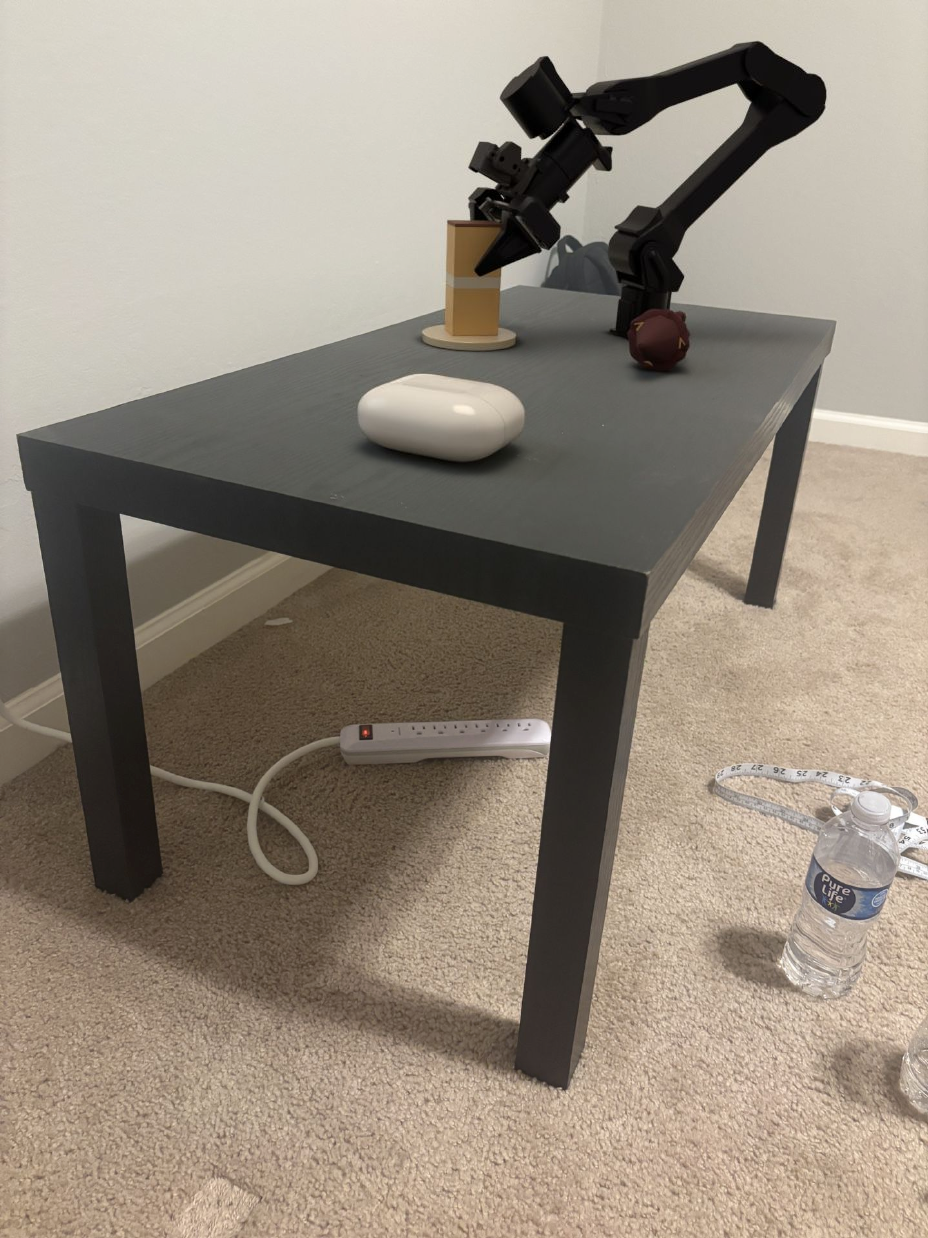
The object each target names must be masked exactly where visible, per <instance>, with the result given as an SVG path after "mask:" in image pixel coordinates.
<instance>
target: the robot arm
mask: <svg viewBox="0 0 928 1238" xmlns="http://www.w3.org/2000/svg"><path fill="white" fill-rule="evenodd" d="M733 85H737V86H738V88H739V90H740V91H741V93H742V95H743V97H744V98H745V99H746V100H747V101H748V102H750V104H749V106H748V109H747V111H746V114H745V116H744V119H743V121H742V123H741V125H740V126H739V127H738V128H737V129H736V130H735V131H734V132H733V133H732V134H731V135H730V136H729V137H728V138H727V139H726V140H724V141H723V143H721V145H719V146H718V148H716V149H715V150H714V151H713V152H712V153H711V154H710V156H708V158H707V159H706V160H704V161H703V163H701V165H699V166H698V167H697V168H696V169H695V170H694V171H693V172H692V173H691V174H690V175H689V176H688V177H687V179H685V180H684V181H683V182H681V184H680V185H679V186H678V187H677V188H676V189H675V190H674V191H673V192H672V193H671V194H670V195H669V196H668V197H667V198H666V199H665V200H664V201H663V202H662V203H660V205H658V206H656V207H652V206H645V205H641V204H638V205H636V206H635V207H634V208H632V210H631V211H630V213H629V214H628V216H627V217H626V218H625V219H624V220H623V221H621V222H620V223H618V224H616V225H614V229H615V230H616V231H615V232H614V233H613V234H612V235H611V237H610V238H609V240H608V249H607V256H608V261H609V264H610V265H611V266H612V268H613V269H614V271H615V276H616V280H617V283H618V284H623V285H624V286H621V291H620V298H618V301H617V312H616V320H615V327H610V328H609V330H608V333H611V334H616V335H619V336H622V337H626V338H628V335H627V334H628V331H629V330H630V323H631V321H632V320H634V319H635V318H637V317H639V316H641V315H642V314H643V313H645V312H646V311H648V310H650V309H662V310H665V309H669V310H671V302H672V296H673V295H672V294H673V293H678V292H679V291H680V288H681V286H682V284H683V281H684V278H685V274H684V273H683V272H682V269H680V267H679V266H678V265H677V263H676V262H675V260H674V259H673V258H675V256H676V254H678V252H679V250H680V247H681V245H682V242H683V239H684V237H685V234H686V233H687V231H688V230H689V228H691V227H692V225H693V224H695V222H697V221H698V220H699V218H701V216H702V215H704V214H705V213H706V212H707V211H708V210H709V209H710V208H711V207H712V206H713V205H714V204H715V203H716V202H717V201H718V200H719V199H720V198H721V197H722V196H723V195H724V194H725V193H726V192H727V191H728V190H729V189H730V188H731V187H732V186H733V185H734V184H735V183H736V182H737V181H738V180H739V179H740V178H741V177H742V176H744V174H746V173H747V171H749V169H751V168H752V167H753V166H754V165H755V164H756V163H757V162H758V161H759V160H760V159H761V158H762V157H763V156H764V155H765V154H766V153H767V152H768V151H769V150H771V149H772V148H774V147H777V146H778V145H780V144H782V143H784V142H786V141H788V140H791V139H793V138H794V137H796V136H798V135H799V134H801V133H802V132H804V131H805V130H806V129H808V128H809V127H810V126H812V125H813V124H815V123H816V122H817V121H818V120H820V118H821V117H822V115H823V114H824V113H825V110H826V102H827V87H826V83H825V81H824V80H823V79H822V77H821V76H819V75H818V74H817V73H812V72H811V73H810V72H809V73H808V72H807V71H806V70H804V69H803V68H802V67H800V66H799V65H797V64H795V63H794V62H792V61H790V60H788V59H786V58H785V57H783V56H781V55H779V54H777V53H776V52H774V50H772V49H771V48H770V47H769V46H768V45H767V44H765V43H764V42H762V41H759V40H754V41H746V42H739V43H738V42H737V43H734V44H733V45H732V46H731V47H729V48H727V49H724V50H721V51H719V52H716V53H712V54H710V55H707V56H703V57H701V58H698V59H695V60H692V61H689V62H686V63H683V64H681V65H677V66H675V67H672V68H669V69H666V70H663V71H660V72H658V73H655V74H652V75H647V76H637V77H629V78H621V79H612V80H603V81H602V80H601V81H598V82H597V81H596V82H595V83H593V84H591V85H590V86H588V87H587V89H586V90H585V91H583V92H582V91H581V92H571V90H570V89H569V87H568V86H567V85H566V83H565V81H564V80H563V79H562V78H561V76H560V74H559V73H558V71H557V69H556V67H555V64H554V63H553V61H552V60H551V57H549V56H548V55H544V56H543V55H542V56H539V57H538V58H537V59H536V61H534V63H532V64H531V65H529V66H528V67H526V68H525V69H524V70H523V71H521V73H520V74H518V75H516V76H514V77H512V79H511V80H510V81H509V82H508V83H507V85H506V86H505V87H504V88H503V90H502V91H501V93H500V95H499V100H500V101H501V103H502V104H503V106H504V107H505V109H507V111H508V113H510V115H511V116H512V118H513V120H514V121H516V123H517V124H518V126H519V127H520V128H521V129H522V131H523V132H524V133H525V136H527V137H528V139H530V140H533V139H536V138H539V139H540V140H541V141H545V140H547V139H549V140H547V142H546V143H545V144H544V145H543V146H542V147H541V148H540V149H539V151H538V152H536V154H534V156H533V157H523V158H522V150H523V149H522V146H520V145H518V144H517V143H515V142H514V141H510V140H506V141H505V142H503V144H501V145H500V146H498V144H497V143H492V142H490V141H478V143H477V146H476V147H475V150H474V152H473V154H472V157H471V160H470V162H469V164H468V167H467V168H468V170H470V171H471V172H473V173H475V174H478V173H479V174H480V175H481V176H484V177H485V178H487V179H489V180H491V181H492V182H494V183H496V185H495V186H494V187H493V188H492V187H487V186H485V187H483V186H482V187H481V186H477V187H476V188H475V189H474V191H473V192H472V193H471V194H470V195H469V196H468V198H467V199H468V204H467V207H468V209H469V220H479V221H496V222H499V223H501V230H500V232H499V234H498V235H497V236H496V238H495V239H494V241H493V242H492V243H491V245H490V246H489V248H488V249H487V251H486V252H485V253H484V255H483V256H482V258H481V259H480V261H479V262H478V264H477V265H476V267H475V268H474V272H475V273H476V274H477V275H478V276H479V277H481V276H484V275H486V274H488V273H490V272H493V271H495V270H497V269H500V268H501V269H503V268H504V267H506V266H508V265H511V264H513V263H516V262H519V261H522V260H523V259H526V258H529V257H531V256H534V255H536V254H538V255H539V254H541V253H542V252H543V250H546V251H550V250H551V249H552V248H553V247H554V246H555V245H556V244H557V243H558V242H559V241H560V240H561V232H562V231H561V230H562V226H561V224H560V223H559V221H557V219H556V218H555V217H554V215H553V214H552V213H551V211H552V209H553V208H554V207H555V206H556V205H557V204H558V203H560V204H565V203H566V202H567V201H568V200H569V199H570V198H571V196H570V195H569V194H568V192H569V191H570V190H571V189H572V187H573V186H574V185H576V183H577V182H578V181H579V180H580V179H581V178H582V177H583V176H584V175H585V173H586V172H587V171H588V170H589V169H590V168H591V167H592V166H593V167H594V169H595V171H601V172H611V171H612V169H613V158H612V157H613V155H612V154H613V151H614V148H613V146H609V145H607V146H606V145H603V144H602V143H601V141H600V140H599V138H598V137H597V136H613V137H614V136H615V137H616V136H617V137H618V136H625V135H628V134H631V133H633V132H634V131H636V130H637V129H639V128H641V127H642V126H644V125H646V124H647V123H650V122H651V121H652V120H653V119H655V117H656V116H658V115H659V114H660V113H661V112H663V111H666V109H668V108H671V107H674V106H676V105H677V106H678V105H680V104H682V103H686V102H689V101H691V100H694V99H697V98H700V97H703V96H706V95H709V94H711V93H715V92H716V91H719V90H722V89H724V88H725V89H726V88H728V87H732V86H733ZM578 121H579V122H582V124H583V125H584V127H582V125H581V124H580V123H579V122H578Z"/></svg>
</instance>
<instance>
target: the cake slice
mask: <svg viewBox="0 0 928 1238" xmlns="http://www.w3.org/2000/svg"><path fill="white" fill-rule="evenodd" d="M500 230H501V223H499V222H496V221H479V220H470V219H446V253H445V254H446V255H445V256H446V257H445V258H446V259H445V302H444V303H445V304H444V305H445V306H444V325H445V329H446V330H447V331H448V332H449V333H450V334H451V335H452V336H478V335H498V327H499V326H500V325H499V322H500V307H501V306H500V304H501V287H502V286H501V284H502V268H500V269H497V270H495V271H493V272H490V273H488V274H486V275H484V276H481V277H479V276H478V275H477V274H476V273H475V272H474V268H475V267H476V265H477V264H478V262H479V261H480V259H481V258H482V256H483V255H484V253H485V252H486V251H487V249H488V248H489V246H490V245H491V243H492V242H493V241H494V239H495V238H496V236H497V235H498V234H499V232H500ZM499 328H500V327H499Z"/></svg>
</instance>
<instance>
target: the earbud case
mask: <svg viewBox="0 0 928 1238" xmlns="http://www.w3.org/2000/svg"><path fill="white" fill-rule="evenodd" d="M356 407H357V409H356V416H357V417H356V419H357V424H358V428H359V429H360V431H361V432H362V434H363V435H364V436H365V437H366V438H367V439H368V440H370V441H371V442H372V443H374V444H376V445H378V446H381V447H383V448H386V449H389V450H394V451H398V452H403V453H408V454H413V455H417V456H423V457H428V458H433V459H439V460H444V461H448V462H449V461H450V462H455V463H469V462H475V461H480V460H483V459H485V458H487V457H489V456H492V455H493V454H495V453H497V452H498V451H500V450H502V449H503V448H505V447H506V446H508V445H509V444H511V443H512V442H515V440H517V438H519V437H520V435H521V434H522V432H523V431H524V428H525V423H526V410H525V406H524V404H523V403H522V401H521V400H520V399H519V397H518V396H517V395H516V394H515V393H513V392H512V391H510V390H509V389H506V388H505V387H503V386H500V385H497V384H493V383H489V382H483V381H479V380H473V379H472V380H471V379H466V378H461V377H460V378H459V377H453V376H446V375H439V374H433V373H413V374H409V375H404V376H402V377H399V378H396V379H393V380H390V381H388V382H386V383H383V384H380V385H377V386H376V387H373V388H372V389H370V390H369V391H367V392H366V393H365V394H364V395H363V396H362V397H361V398H360V399H359V401H358V404H357V406H356Z"/></svg>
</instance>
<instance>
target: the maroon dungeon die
mask: <svg viewBox="0 0 928 1238" xmlns="http://www.w3.org/2000/svg"><path fill="white" fill-rule="evenodd" d="M686 320H687V315H686V312H683V311H681V310H679V311H674V310H671V309H670V310H669V309H665V310H662V309H650V310H648V311H646V312H645V313H643V314H642V315H641V316H639V317H637V318H635V319H634V320H632V321H631V323H630V330H629V331H628V334H627V335H628V337H627V340H628V351H629V355H630V357H631V358H632V359H633V360H634V361H636V363H638V364H639V365H640V366H641V367H643V368H644V369H645V370H650V371H659V372H668V371H670V370H671V369H672V368H673V367H675V366H676V365H677V364H678V363H679V362H681V361H682V360H684V359H686V356H687V353H688V351H689V349H690V336H691V333H690V330H689V329H688V327H687V324H686Z"/></svg>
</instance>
